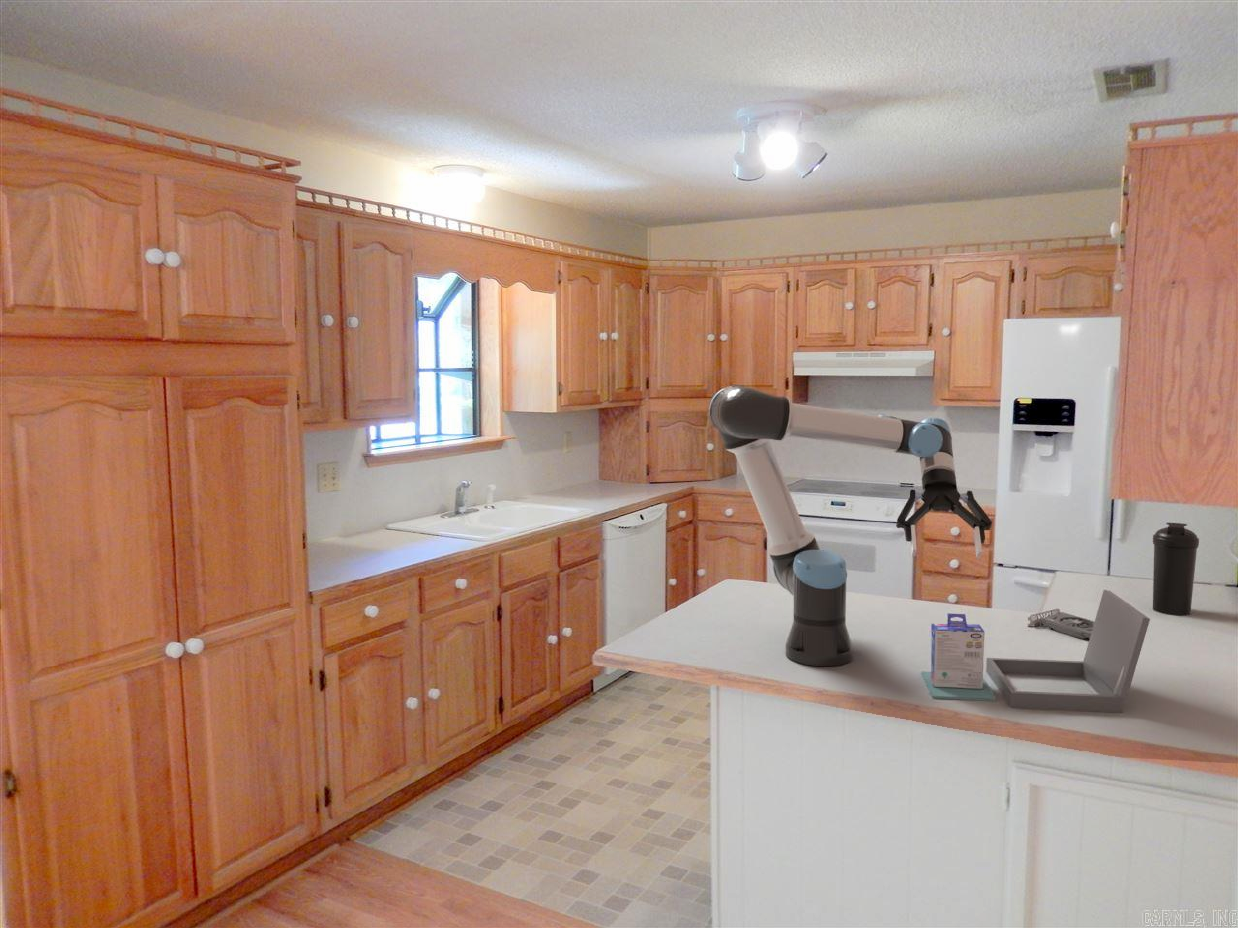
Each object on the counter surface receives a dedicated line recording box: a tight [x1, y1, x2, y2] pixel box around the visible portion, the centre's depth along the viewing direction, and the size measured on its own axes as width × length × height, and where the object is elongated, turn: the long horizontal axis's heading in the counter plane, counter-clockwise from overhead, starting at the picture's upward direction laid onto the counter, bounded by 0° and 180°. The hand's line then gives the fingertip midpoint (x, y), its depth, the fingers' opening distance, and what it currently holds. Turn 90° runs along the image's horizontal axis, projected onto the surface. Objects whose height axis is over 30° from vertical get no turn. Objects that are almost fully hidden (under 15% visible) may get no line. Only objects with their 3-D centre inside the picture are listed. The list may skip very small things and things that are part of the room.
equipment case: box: [985, 589, 1151, 714], centre depth 178 cm, size 24×20×19 cm
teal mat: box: [920, 670, 997, 702], centre depth 183 cm, size 12×14×1 cm
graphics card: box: [1027, 607, 1095, 640], centre depth 217 cm, size 17×4×12 cm
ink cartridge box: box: [930, 612, 985, 689], centre depth 182 cm, size 10×6×14 cm, turn 80°
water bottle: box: [1152, 522, 1200, 616], centre depth 231 cm, size 10×10×23 cm
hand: (946, 554), depth 195 cm, fingers open, 13 cm apart
